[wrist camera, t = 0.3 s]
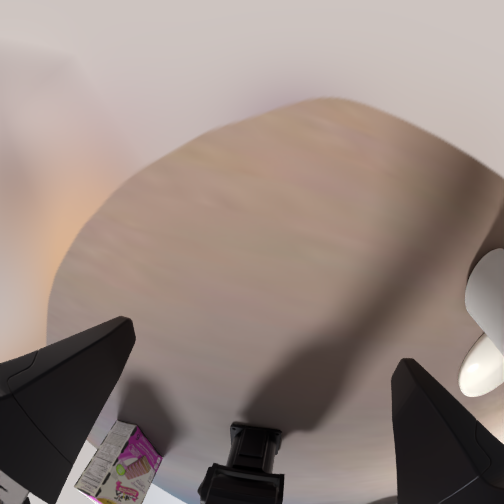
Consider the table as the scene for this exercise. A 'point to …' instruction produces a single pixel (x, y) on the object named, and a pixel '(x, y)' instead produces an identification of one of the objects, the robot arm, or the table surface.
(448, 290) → the table surface
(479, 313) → the can
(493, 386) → the saucer
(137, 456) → the candy bar box
